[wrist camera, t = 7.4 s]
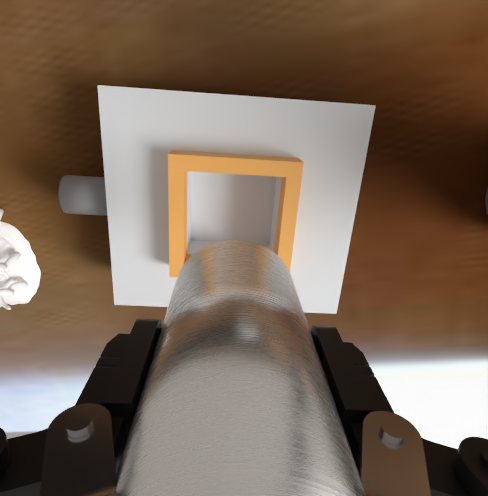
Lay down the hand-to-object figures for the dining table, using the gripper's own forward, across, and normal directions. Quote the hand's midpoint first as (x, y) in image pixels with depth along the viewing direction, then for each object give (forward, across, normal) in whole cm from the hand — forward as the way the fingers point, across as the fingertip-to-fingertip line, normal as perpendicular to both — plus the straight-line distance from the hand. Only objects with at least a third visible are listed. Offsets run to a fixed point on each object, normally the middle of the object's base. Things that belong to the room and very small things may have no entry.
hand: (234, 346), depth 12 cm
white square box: (+21, 0, 0) cm, 21 cm away
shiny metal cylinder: (+3, 0, 0) cm, 3 cm away
